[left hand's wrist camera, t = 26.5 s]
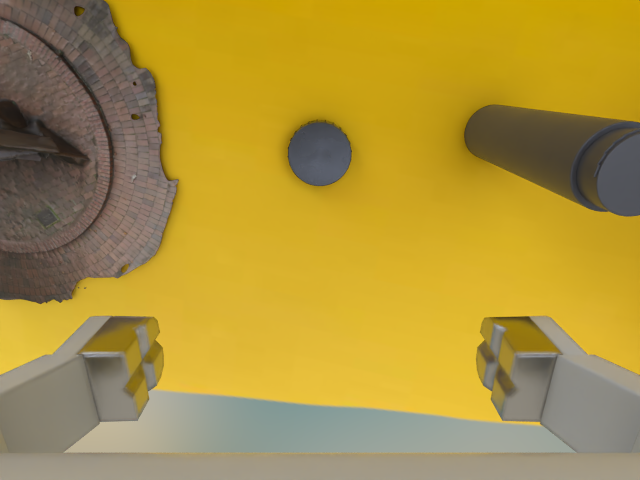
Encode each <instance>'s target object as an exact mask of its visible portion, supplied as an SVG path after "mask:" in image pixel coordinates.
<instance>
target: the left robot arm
mask: <svg viewBox="0 0 640 480" xmlns="http://www.w3.org/2000/svg"><path fill="white" fill-rule="evenodd" d="M159 333H160V330H159V325H158V321H157V320H156V319H155V318H154V317H134V316H93V317H89V318H88V319H87V320H86V321H85V322H84V323H83V324H82V325H81V326H80V327H79V328H78V329H77V330H76V331H75V332H74V333H73V334H72V335H71V336H70V337H69V338H68V339H67V340H66V341H65V342H64V343H63V344H62V345H61V346H60V347H59V348H58V349H57V350H56V351H55V352H54V353H53V354H52V355H44V356H42V357H39V358H37V359H35V360H33V361H31V362H28V363H26V364H24V365H22V366H19V367H17V368H15V369H13V370H11V371H8V372H6V373H4V374H2V375H0V480H640V375H638V374H636V373H634V372H632V371H629V370H627V369H625V368H623V367H620V366H618V365H616V364H614V363H612V362H609V361H607V360H605V359H603V358H601V357H598V356H596V355H588V354H587V353H586V352H585V351H584V350H583V349H582V348H581V347H580V346H579V345H578V344H577V343H576V342H575V341H574V340H573V339H572V338H571V337H570V336H569V335H568V334H567V333H566V332H565V331H564V330H563V329H562V328H561V327H560V326H559V325H558V324H557V323H556V322H555V321H554V320H553V319H552V318H550V317H548V316H525V317H488V318H484V320H483V322H482V324H481V330H480V333H481V334H482V336H483V338H484V339H485V340H484V341H483V342H482V343H481V344H480V345H479V346H478V348H477V355H476V364H477V371H478V375H479V378H480V380H481V382H482V384H483V386H485V387H486V388H488V389H489V390H491V391H492V395H491V401H492V402H493V404H494V406H495V408H496V410H497V411H498V413H499V415H500V417H501V419H502V421H530V422H540V424H541V425H543V426H544V427H545V428H547V429H548V430H549V431H550V432H552V433H553V434H554V435H555V436H557V437H558V438H559V439H560V440H562V441H563V442H564V443H566V444H567V445H568V446H569V447H571V448H572V449H573V450H574V451H576V452H577V453H63V452H64V451H66V450H67V449H68V448H70V447H71V446H72V445H73V444H75V443H76V442H77V441H78V440H80V439H81V438H82V437H84V436H85V435H86V434H87V433H89V432H90V431H91V430H92V429H94V428H95V427H96V426H97V425H99V423H100V422H109V421H137V420H138V419H139V417H140V415H141V413H142V411H143V410H144V408H145V406H146V404H147V402H148V400H149V395H148V391H149V390H151V389H152V388H154V387H155V386H157V384H158V382H159V380H160V378H161V375H162V370H163V366H164V354H163V348H162V346H161V345H160V344H159V343H158V342H157V341H156V340H155V339H156V338H157V336H158V334H159Z"/></svg>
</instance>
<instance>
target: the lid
mask: <svg viewBox="0 0 640 480" xmlns="http://www.w3.org/2000/svg"><path fill="white" fill-rule="evenodd" d="M346 136H347V135H346V134H344V132H343V131H342V130H341V128H340V127H338V126H336V125H335V124H334V123H330V122H327V121H326V120H325V121H322V120H316V121H312V122H310V121H309V122H308V123H307V124H305V125H303V126H302V125H301V127H300V128H299V129H298V130H297V131H295V134H294V136H293V138H291V140H290V141H291V142H290V145H289V147H288V159H289V163H290V166H291V168H292V170H293V172H294V173H295V174H296V176H297V177H298V178H299V179H301V180H302V181H304V182H306V183H308V184H310V185H315V186H325V185H329V184H332V183H334V182H336V181H337V180H339V179H340V178H341V177H342V176H343V175H344V174H345V172H346V171H347V169H348V168H349V165H350V161H351V152H352V151H351V147H350V142H349V141H348V139H347V137H346Z"/></svg>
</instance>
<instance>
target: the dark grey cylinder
mask: <svg viewBox="0 0 640 480" xmlns="http://www.w3.org/2000/svg"><path fill="white" fill-rule="evenodd" d="M465 143H466V145H467V147H468V149H469V150H470V152H471V153H472V154H474V155H475V156H477V157H479V158H481V159H484V160H486V161H488V162H490V163H492V164H494V165H496V166H499V167H501V168H503V169H505V170H507V171H509V172H511V173H514V174H516V175H518V176H520V177H522V178H524V179H526V180H529V181H531V182H533V183H535V184H537V185H539V186H541V187H544V188H546V189H548V190H550V191H552V192H554V193H556V194H559V195H561V196H563V197H565V198H567V199H569V200H571V201H574V202H576V203H578V204H580V205H582V206H584V207H586V208H589V209H591V210H594V211H600V212H608V211H609V212H612V213H614V214H617V215H620V216H638V215H640V123H639V122H633V121H625V120H617V119H609V118H600V117H592V116H584V115H576V114H568V113H560V112H552V111H544V110H535V109H527V108H519V107H511V106H503V105H489V106H486V107H483V108H481V109H480V110H478V111H477V112H476V113H474V114H473V116H472V117H471V118H470V120H469V121H468V123H467V126H466V129H465Z"/></svg>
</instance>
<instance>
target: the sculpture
mask: <svg viewBox="0 0 640 480" xmlns="http://www.w3.org/2000/svg"><path fill="white" fill-rule="evenodd" d="M75 6H80V7H83V8H84V9H85V11H84V12H83V14H82V15H80V16H76V15H75V14H74V7H75ZM116 29H117V27H116V26H115V25H114V23H113V20H112V17H111V13H110V9H109V5H108V4H107V3H106V2H105V1H104V0H0V299H3V300H13V299H24V300H28V301H32V302H37V303H39V304H42V303H43V302H46V303H47V302H48V301H51V300H53V299H55V300H56V301H59V302H60V303H61V302H62V300H64V299H65V300H68V299H72V291H73V289H74V288H75V285H76V283H77V282H78V281H80V280H82V279H85V278H86V277H92V278H104V277H115V278H119V277H120V276H122V275H125V274H127V273H129V272H130V271H132V270H134V269H135V268H137V267H138V266H140V265H142V264H145V263H146V262H147V261H148V260H149V259H150V258H151V257H152V256H154V255H155V254H156V251H157V250H158V248H159V246H160V243H161V239H162V234H161V233H163V231H164V229H165V225H166V223H167V219H168V216H169V214H170V211H171V206H172V204H173V202H172V200H173V199H174V195H175V194H176V189H177V188H176V187H175V185H177V183H178V179H177V180H173V181H168V180H167V179H166V177H165V175H164V172H163V169H162V166H161V162H160V144H161V143H162V141H161V133H159V132H158V130H157V129H158V127H159V126H160V123H159V121H158V120H157V115H158V113H157V100H156V98H155V94H156V90H155V88H156V87H155V83H154V82H155V81H154V79H153V77H152V75H151V73H150V72H149V71H148V70H147V69H146V68H143V69H138V68H136V67H135V66H134V65H133V64H132V62H131V57H130V48H129V45H128V43H127V42H126V41H124V40H123V39H122V38H120V36H119V35H118V33H117V31H116ZM134 81H135V82H136V84H137V85H136V86H134V85H133V82H134ZM132 114H137V115H138V116H139V117H140V119H137V120H133V119H132V118H131V115H132ZM125 264H129V267H128V269H127V271H126V272H125V273H122V272H121V268H122V266H124V265H125ZM78 288H79V287H78ZM86 288H87V287H86ZM84 289H85V288H84Z"/></svg>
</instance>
